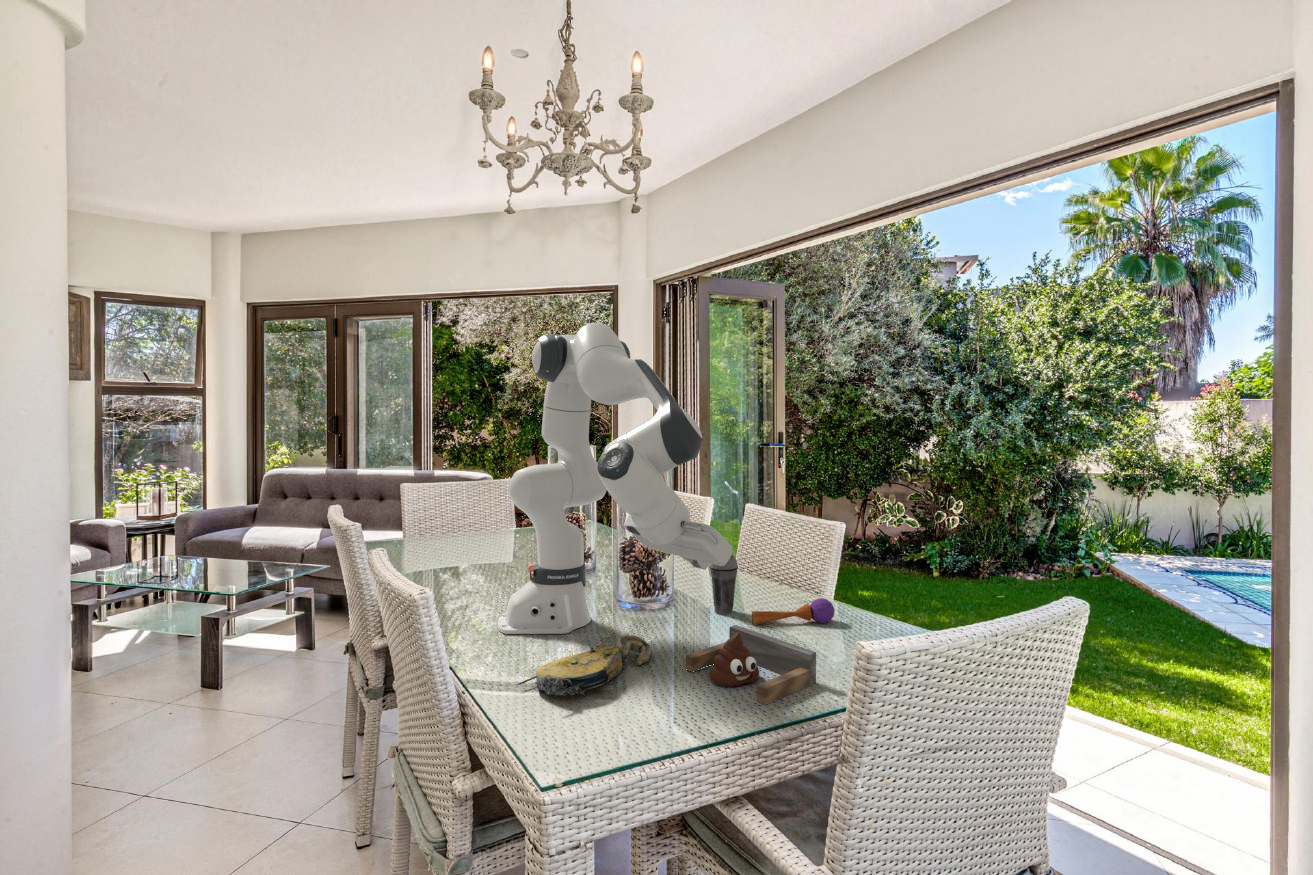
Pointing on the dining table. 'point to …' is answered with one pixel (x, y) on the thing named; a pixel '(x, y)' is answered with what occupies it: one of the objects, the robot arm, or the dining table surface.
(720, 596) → the beverage cup
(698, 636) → the dining table surface
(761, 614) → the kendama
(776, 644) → the channel
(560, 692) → the pulley block
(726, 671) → the poop emoji
